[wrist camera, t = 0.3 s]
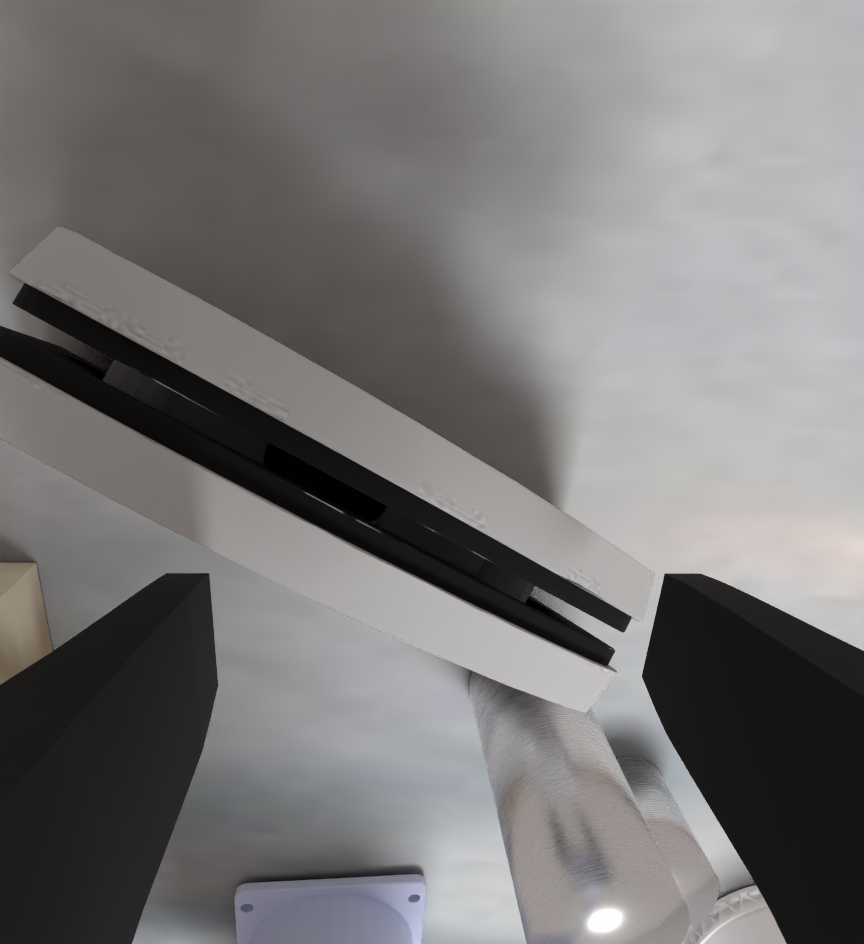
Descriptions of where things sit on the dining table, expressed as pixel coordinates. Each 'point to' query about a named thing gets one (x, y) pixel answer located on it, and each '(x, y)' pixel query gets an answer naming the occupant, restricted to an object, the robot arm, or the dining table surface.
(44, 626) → the hole plate
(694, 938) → the vase
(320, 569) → the white slotted housing
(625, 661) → the dining table surface
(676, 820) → the short pin
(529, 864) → the tall pin
